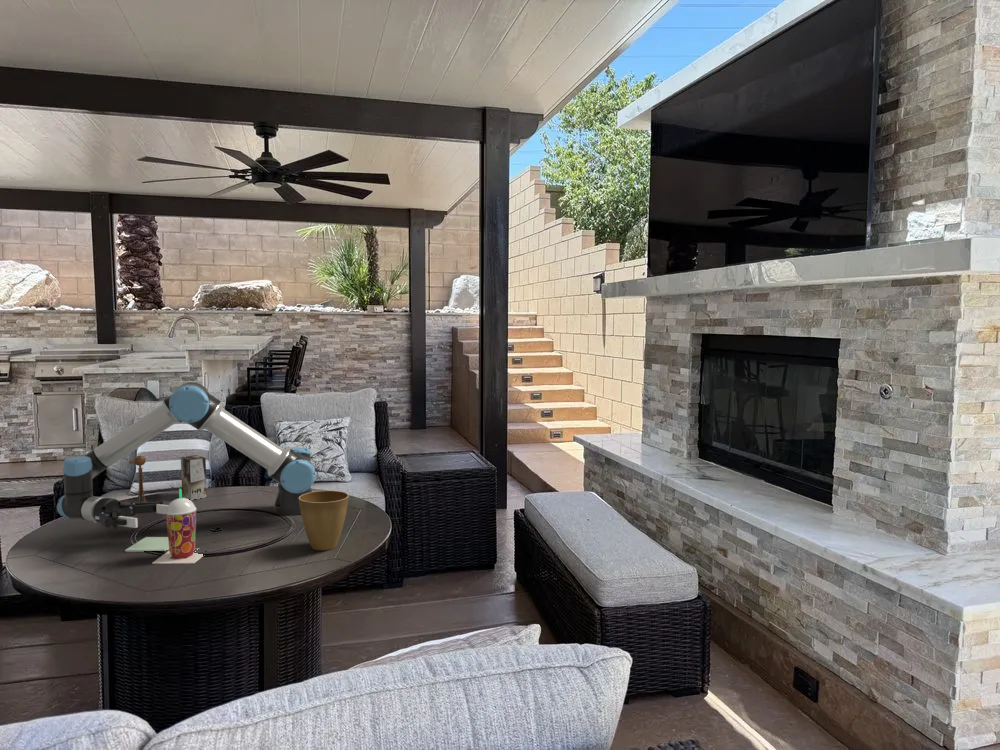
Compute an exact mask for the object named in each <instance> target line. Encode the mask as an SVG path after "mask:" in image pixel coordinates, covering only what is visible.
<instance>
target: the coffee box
mask: <svg viewBox="0 0 1000 750" xmlns="http://www.w3.org/2000/svg"><path fill="white" fill-rule="evenodd" d="M206 460H207V459H206V457H203V456H202V455H201V456H200V455H197V454H195V455H186V456H181V457H180V473H181V475H180V476H181V489H182V498H187V499H190V501H195V500H194V499H197V500H201V499H200V498H202V499H206V498H205V497H208V496H207V464H206V462H207V461H206Z"/></svg>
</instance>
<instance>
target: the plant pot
mask: <svg viewBox="0 0 1000 750" xmlns="http://www.w3.org/2000/svg"><path fill="white" fill-rule="evenodd" d="M349 495H350V494H349V493H348V492H344V491H340V490H318V491H312V492H310V493H306V494H303V495H301V496H299V504H300V510H301V514H300V516H301V520H302V523H303V526H304V531H305V533H306V536H307V539H308V541H309V544H310V547H311V549H313V550H315V551H329V550H334V549H335V548H336V547H337V546H338V543H339V540H340V538H341V534H342V532H343V531H342V530H343V527H344V524H345V519H346V515H347V510H348V506H349V505H348V503H349V497H350V496H349Z"/></svg>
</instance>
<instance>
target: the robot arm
mask: <svg viewBox="0 0 1000 750" xmlns="http://www.w3.org/2000/svg"><path fill="white" fill-rule="evenodd" d="M176 423H177V424H182V423H186V424H189V425H190V426H191V427H192V428H195V429H196V430H197V431H203V430H204V431H208V432H210V433H211V434H213V435H214V436H216V437H217V438H219V439H220V440H221V441H223V442H224V443H226V444H228V445H229V446H230V447H232V448H234V449H236V450H237V452H238V451H239V452H240V453H242V454H243V455H245V456H246V457H248V458H249V459H250V460H252V461H253V462H255V463H257V464H258V465H259V466H261V467H263V468H264V469H266V470H267V475H268V477H269V478H271V479H273V480H274V481H276V482H277V485H278V486H277V488H278V489H277V493H276V498H275V500H274V502H273V512H274V513H275V514H277V515H282V516H283V515H284V516H296V515H301V510H300V504H299V496H301V495H303V494H306V493H310V492H313V489H312V486H313V485H314V482H315V480H316V468H315V467H314V465H313V464H312V462H311V457H312V453H311V449H310V448H308V447H287V448H282V447H280V445H278V444H276V443H275V442H273V441H272V440H270V439H269V438H267V437H266V436H265V435H263V434H261V433H260V432H258V430H256V429H254V428H253V427H251V426H250V425H248V424H246V422H244V421H242V420H241V419H239V418H238V417H236V416H235V415H233V414H232V413H230V412H229V411H227V410H226V409H225V408H224V407H223V401H221V400H220V399H218V398H216V397H215V396H214V395H212V394H211V393H210V392H209V390H208V389H207V388H206V387H205V386H204V385H202V384H200V383H197V382H187V383H183V384H181V385H180V386H179V387H178V388H176V389H175V390H173V391H172V394H170V395H169V396H168V397H166V398H165V399H163V400H162V404H160V405H159V406H158V407H157V408H155V409H154V410H152V411H150V412H149V413H147V414H146V415H144V416H142V417H141V418H139V419H138V420H137V421H134V422H133V423H131V425H129V426H128V427H125V428H124V429H122V430H121V431H120V432H119V433H117V434H115V435H113V436H111V437H110V438H109V439H107V440H106V441H105V442H103V443H101V444H99V445H98V446H97V447H95V448H94V449H93V450H91V451H89V452H87V453H86V454H84V455H80V456H72V457H68V458H65V459H64V461H63V463H62V464H63V465H62V466H63V467H62V473H63V489H64V490H63V491H64V495H62V496H60V498H59V499H58V503H57V504H56V510H57V513H58V514H59V515H60V516H61V517H64V518H68V519H69V520H81V521H86V522H87V521H89V522H94V523H95V524H97V523H99V524H101V525H102V526H103V527H104V528H106V529H107V528H111V526H112V529H118V527H126V528H133V529H134V528H135V529H136V528H139V523H138V522H139V521H138V519H139V518H137V517H133V516H136V515H139V514H148V513H156V514H160V515H161V514H162V515H166V514H165V511H166V510H167V508H168V506H169V504H164V501H160V500H158V501H147V502H137V501H136V502H135V501H132V502H130V503H129V504H128V503H127V504H126V503H121V502H120V501H119V500H118V499H116V498H111V497H105V496H94V488H93V479H94V478H95V477H97V476H98V475H100V473H102V472H103V471H105V470H107V469H108V468H109V467H111V466H113V465H114V464H115V463H117V462H118V461H120V460H122V459H123V458H124V457H127V456H128V455H129V454H131V453H132V452H134V451H135V450H137V449H138V448H140V447H142V445H145V443H147V442H149V441H150V440H152V439H154V438H155V437H156V436H158V435H159V434H162V433H163V432H164V431H165V430H167V429H169V428H171V427H172V426H173V425H175V424H176Z"/></svg>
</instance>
